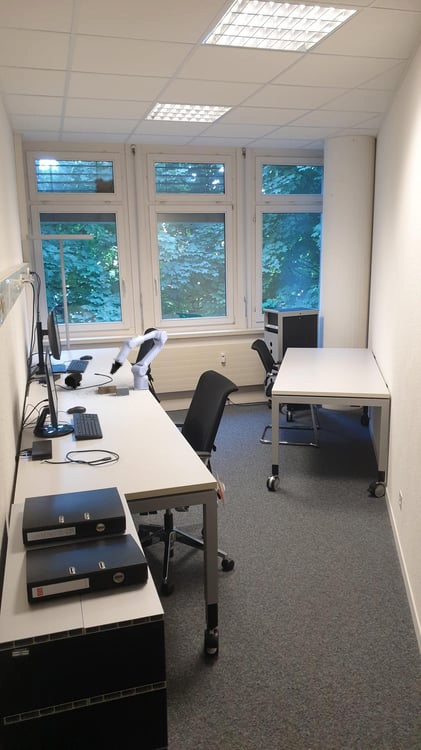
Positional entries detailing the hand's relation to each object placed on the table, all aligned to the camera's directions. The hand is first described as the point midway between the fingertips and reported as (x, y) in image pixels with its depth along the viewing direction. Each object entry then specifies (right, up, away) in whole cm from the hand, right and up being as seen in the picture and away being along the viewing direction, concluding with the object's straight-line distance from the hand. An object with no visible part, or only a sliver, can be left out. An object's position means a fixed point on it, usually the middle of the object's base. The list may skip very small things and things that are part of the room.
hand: (112, 373), depth 349 cm
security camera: (-29, -10, +19) cm, 36 cm away
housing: (+7, -14, 0) cm, 15 cm away
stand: (-4, -12, +9) cm, 16 cm away
